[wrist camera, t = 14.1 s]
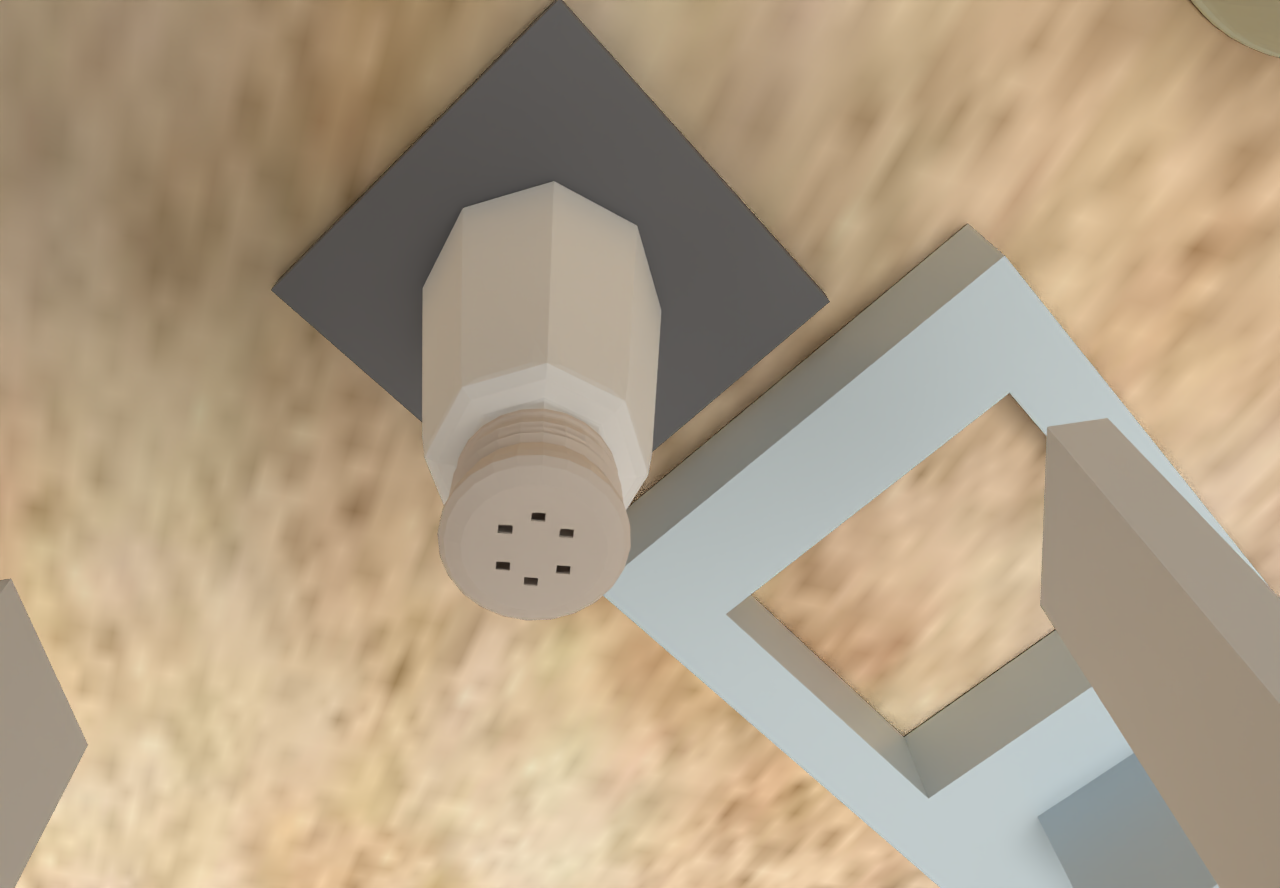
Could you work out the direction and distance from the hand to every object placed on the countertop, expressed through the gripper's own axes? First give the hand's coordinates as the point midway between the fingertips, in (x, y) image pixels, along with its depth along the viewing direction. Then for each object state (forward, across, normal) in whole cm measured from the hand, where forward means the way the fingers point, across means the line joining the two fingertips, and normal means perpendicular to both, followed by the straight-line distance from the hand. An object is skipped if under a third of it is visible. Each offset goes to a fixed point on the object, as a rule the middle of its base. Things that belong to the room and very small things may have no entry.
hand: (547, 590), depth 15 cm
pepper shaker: (+13, 0, -1) cm, 13 cm away
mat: (+13, 0, -1) cm, 13 cm away
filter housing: (+13, +10, -12) cm, 21 cm away
